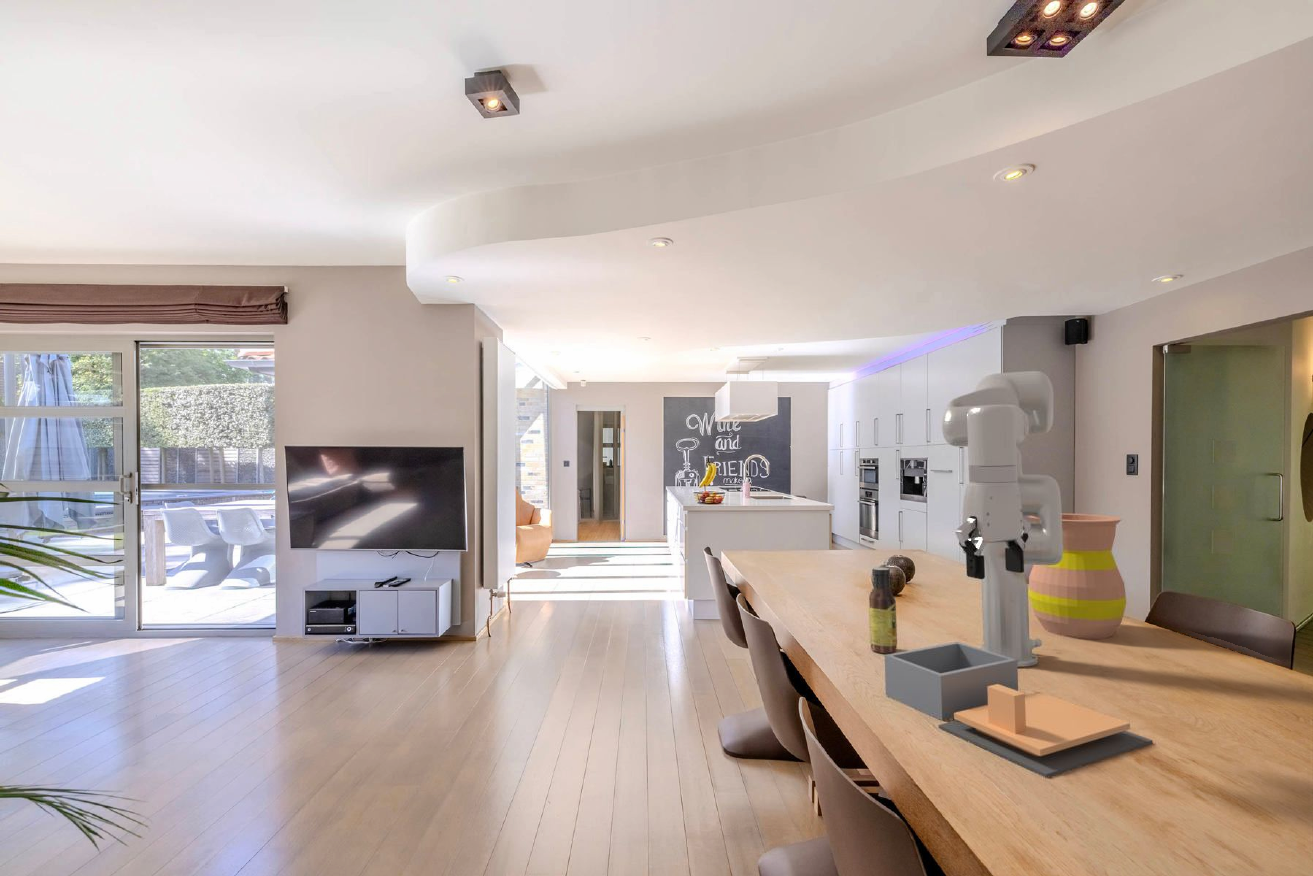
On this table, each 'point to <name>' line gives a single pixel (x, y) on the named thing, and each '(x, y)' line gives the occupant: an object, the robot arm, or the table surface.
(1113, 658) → the table surface
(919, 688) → the tub
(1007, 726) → the lid
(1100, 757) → the mat
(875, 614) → the sauce bottle
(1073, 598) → the vase
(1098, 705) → the table surface
